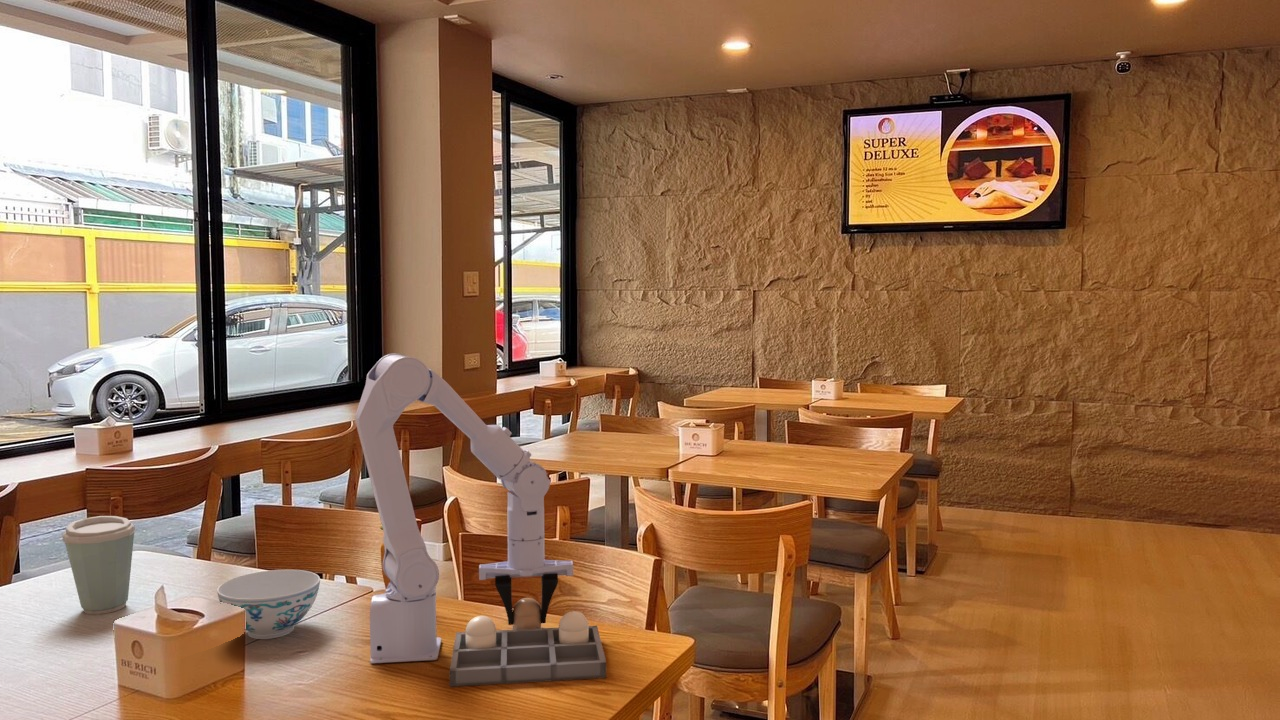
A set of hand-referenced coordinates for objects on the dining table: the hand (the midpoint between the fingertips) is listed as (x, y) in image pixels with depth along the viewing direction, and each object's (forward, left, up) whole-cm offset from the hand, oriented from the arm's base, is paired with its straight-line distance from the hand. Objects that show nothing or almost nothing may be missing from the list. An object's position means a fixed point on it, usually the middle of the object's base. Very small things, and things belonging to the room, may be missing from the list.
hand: (527, 621), depth 145 cm
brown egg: (0, 0, -2) cm, 2 cm away
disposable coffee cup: (-71, +21, -2) cm, 74 cm away
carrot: (-22, +16, -2) cm, 27 cm away
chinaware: (-40, +6, -2) cm, 40 cm away
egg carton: (0, -12, -2) cm, 12 cm away
